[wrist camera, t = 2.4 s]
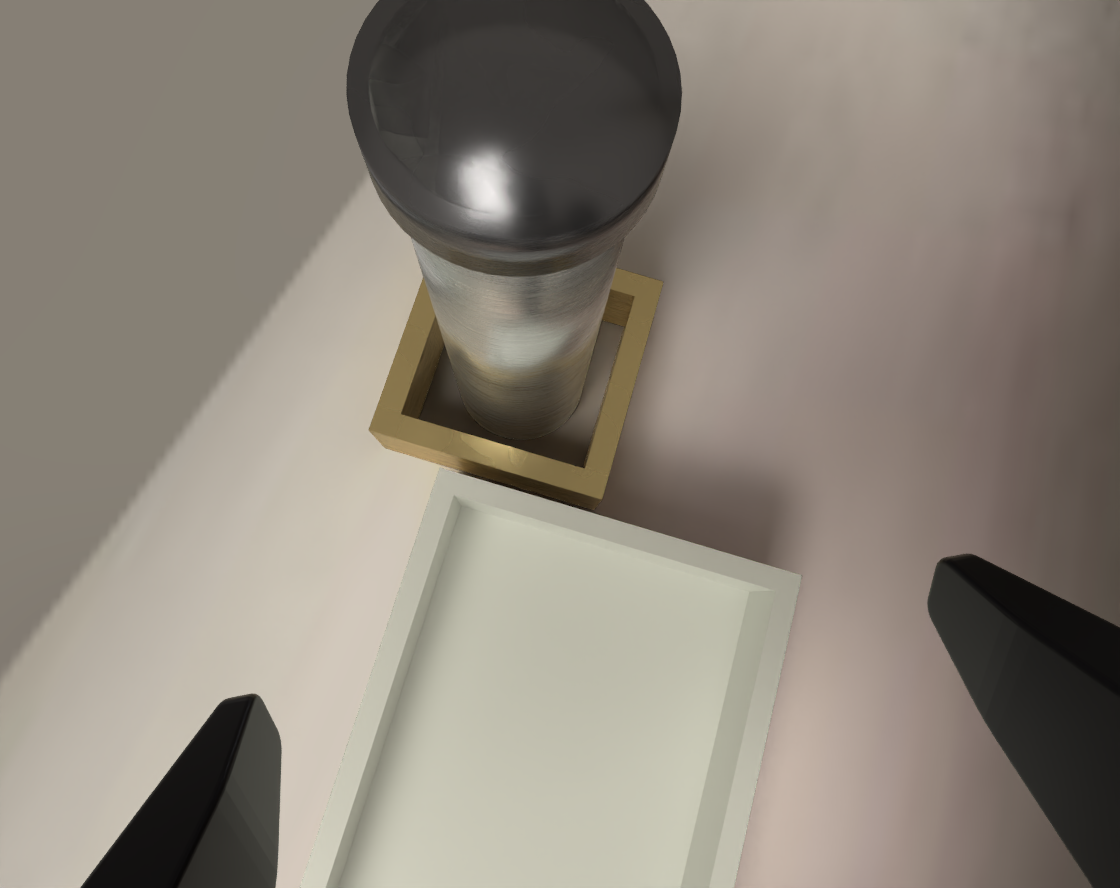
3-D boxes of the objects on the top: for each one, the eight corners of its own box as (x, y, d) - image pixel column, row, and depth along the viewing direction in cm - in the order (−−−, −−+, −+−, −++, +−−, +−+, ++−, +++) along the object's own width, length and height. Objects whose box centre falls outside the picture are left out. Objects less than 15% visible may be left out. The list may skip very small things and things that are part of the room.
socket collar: (649, 313, 25) (663, 281, 22) (594, 510, 23) (602, 499, 21) (452, 255, 25) (444, 217, 22) (385, 448, 23) (368, 430, 21)
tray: (766, 578, 23) (802, 575, 20) (609, 1266, 19) (624, 1388, 16) (450, 484, 23) (439, 467, 20) (231, 1149, 19) (179, 1248, 16)
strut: (608, 334, 24) (716, -6, 11) (569, 466, 23) (632, 280, 10) (474, 294, 24) (409, -94, 11) (429, 425, 23) (296, 181, 10)
